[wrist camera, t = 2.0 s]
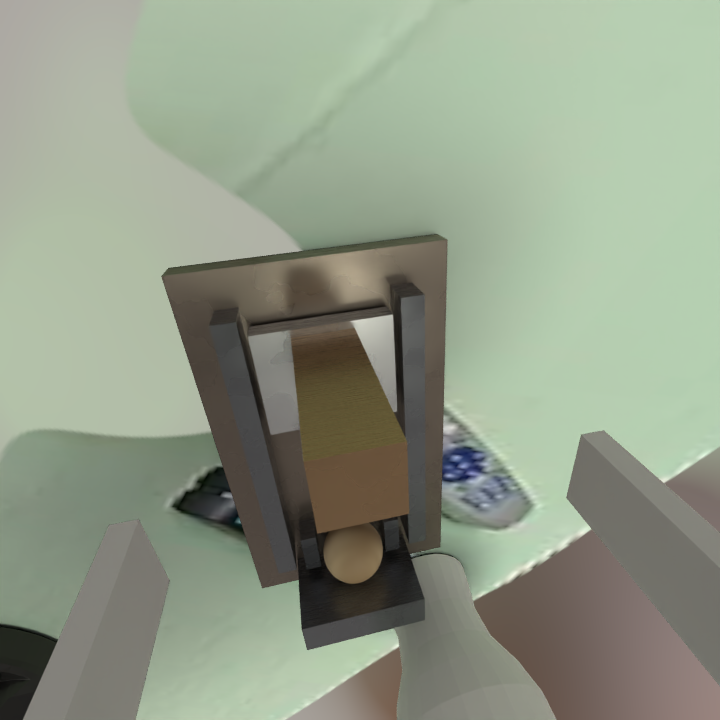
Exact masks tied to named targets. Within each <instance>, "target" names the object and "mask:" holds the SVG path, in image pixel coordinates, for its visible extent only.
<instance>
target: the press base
mask: <svg viewBox="0 0 720 720" xmlns="http://www.w3.org/2000/svg"><path fill="white" fill-rule="evenodd" d="M446 279H447V239H445V238H443V237H441V236H439V235H438V234H434V235H426V236H418V237H410V238H403V239H395V240H387V241H379V242H371V243H363V244H355V245H347V246H339V247H331V248H323V249H315V250H307V251H299V252H292V253H284V254H276V255H268V256H260V257H252V258H244V259H236V260H228V261H220V262H212V263H205V264H196V265H188V266H180V267H173V268H168V269H167V270H166V272H165V273H164V274H163V275H162V280H163V283H164V286H165V289H166V292H167V295H168V298H169V301H170V304H171V307H172V311H173V314H174V317H175V320H176V323H177V326H178V329H179V332H180V335H181V338H182V342H183V345H184V348H185V351H186V354H187V357H188V360H189V363H190V366H191V369H192V372H193V375H194V378H195V382H196V385H197V388H198V391H199V394H200V397H201V400H202V403H203V406H204V410H205V413H206V415H207V419H208V422H209V425H210V428H211V431H212V434H213V437H214V440H215V444H216V447H217V450H218V453H219V456H220V459H221V462H222V465H223V468H224V471H225V474H226V477H227V481H228V484H229V487H230V490H231V493H232V496H233V499H234V502H235V505H236V508H237V511H238V515H239V518H240V521H241V524H242V527H243V530H244V533H245V536H246V539H247V542H248V545H249V549H250V552H251V555H252V558H253V561H254V564H255V567H256V570H257V573H258V576H259V579H260V583H261V586H262V588H265V587H269V586H274V585H278V584H282V583H287V582H291V581H295V580H299V592H300V608H301V624H302V632H303V636H304V639H305V643H306V647H307V650H310V649H314V648H318V647H322V646H325V645H329V644H333V643H337V642H341V641H345V640H349V639H353V638H357V637H361V636H365V635H369V634H372V633H376V632H380V631H384V630H388V629H392V628H396V627H400V626H404V625H408V624H412V623H416V622H420V621H423V620H425V598H424V595H423V592H422V589H421V586H420V584H419V581H418V578H417V575H416V572H415V569H414V566H413V563H412V560H411V557H410V554H412V553H416V552H421V551H425V550H429V549H433V548H438V547H440V539H441V495H442V452H443V409H444V365H445V322H446ZM386 306H387V307H388V308H389V310H390V311H391V313H392V314H393V326H394V349H395V371H396V394H397V412H394V414H395V416H396V419H397V421H398V423H399V425H400V427H401V429H402V432H403V434H404V436H405V438H406V440H407V454H408V486H409V514H405V515H401V516H396V517H392V518H387V519H382V520H378V521H373V522H369V523H370V524H371V525H372V526H373V527H374V528H375V529H376V530H377V532H378V534H379V535H380V538H381V541H382V546H383V555H382V560H381V563H380V566H379V568H378V569H377V571H376V572H375V573H374V574H373V575H372V576H371V577H370V578H369V579H367V580H366V581H363V582H361V583H356V584H349V583H345V582H342V581H340V580H338V579H337V578H336V577H334V576H333V575H332V574H331V572H330V571H329V569H328V568H327V566H326V563H325V560H324V554H323V548H324V542H325V539H326V536H327V534H328V533H329V531H327V532H323V533H318V534H317V529H316V524H315V518H314V513H313V508H312V503H311V498H310V493H309V488H308V483H307V477H306V472H305V467H304V462H303V455H302V446H301V436H300V430H295V431H289V432H284V433H278V434H273V435H271V433H270V429H269V425H268V421H267V416H266V412H265V408H264V404H263V399H262V395H261V391H260V387H259V382H258V378H257V374H256V370H255V366H254V361H253V357H252V353H251V349H250V344H249V340H248V330H249V327H251V326H258V325H265V324H271V323H278V322H285V321H292V320H299V319H305V318H312V317H319V316H326V315H332V314H339V313H346V312H353V311H359V310H366V309H373V308H380V307H386Z"/></svg>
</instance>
